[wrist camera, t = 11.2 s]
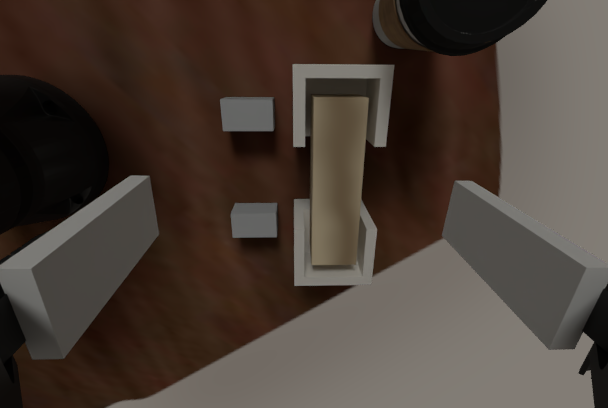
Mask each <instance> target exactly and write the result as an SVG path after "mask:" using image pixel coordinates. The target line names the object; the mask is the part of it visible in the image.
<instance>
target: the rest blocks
mask: <svg viewBox="0 0 608 408" xmlns="http://www.w3.org/2000/svg"><path fill="white" fill-rule="evenodd" d="M220 104H221V115H222V126H223V131H274V128H275V105H274V97H225V98H223V99H220ZM231 223H232V233H233V238H249V237H277V231H278V206H277V203H235V205H234V207H233V210H232V212H231Z"/></svg>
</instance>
